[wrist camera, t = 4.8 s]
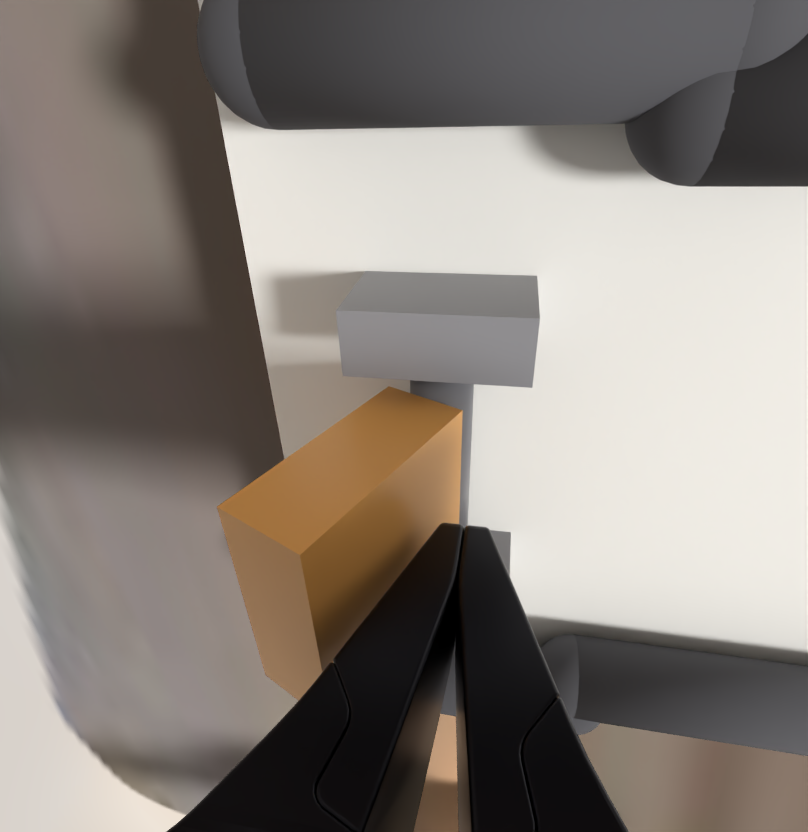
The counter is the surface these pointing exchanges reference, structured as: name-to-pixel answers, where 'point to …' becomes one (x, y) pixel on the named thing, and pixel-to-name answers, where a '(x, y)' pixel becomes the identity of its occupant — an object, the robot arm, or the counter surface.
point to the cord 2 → (675, 692)
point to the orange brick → (346, 522)
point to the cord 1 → (533, 73)
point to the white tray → (559, 357)
